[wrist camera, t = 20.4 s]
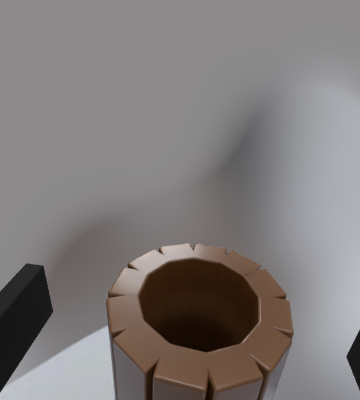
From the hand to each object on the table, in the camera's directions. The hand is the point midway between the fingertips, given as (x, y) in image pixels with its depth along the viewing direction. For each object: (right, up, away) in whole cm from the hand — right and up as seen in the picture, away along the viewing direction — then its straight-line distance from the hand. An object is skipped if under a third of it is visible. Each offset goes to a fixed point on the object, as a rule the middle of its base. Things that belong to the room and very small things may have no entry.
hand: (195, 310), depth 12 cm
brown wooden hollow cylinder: (-1, -11, +3) cm, 11 cm away
